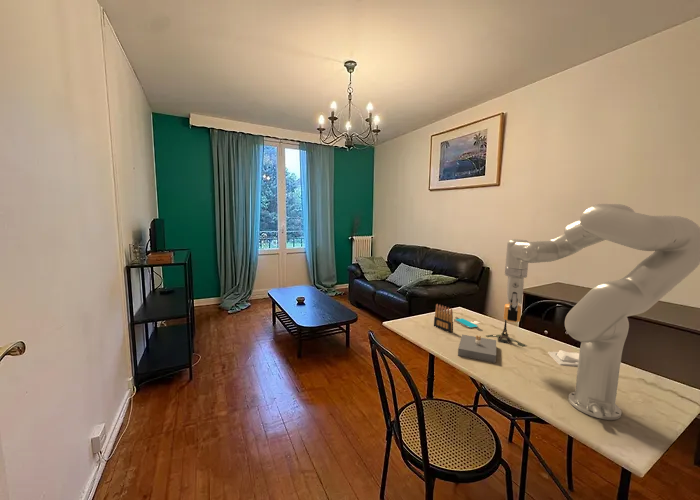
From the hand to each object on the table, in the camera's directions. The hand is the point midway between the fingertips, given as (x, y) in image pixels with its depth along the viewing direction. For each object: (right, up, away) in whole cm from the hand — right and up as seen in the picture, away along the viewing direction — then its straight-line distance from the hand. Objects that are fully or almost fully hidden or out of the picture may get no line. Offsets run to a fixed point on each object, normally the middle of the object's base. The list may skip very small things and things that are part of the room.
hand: (511, 317), depth 120 cm
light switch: (+25, -19, +4) cm, 32 cm away
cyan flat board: (0, -13, +43) cm, 45 cm away
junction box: (-9, -17, +11) cm, 22 cm away
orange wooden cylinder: (0, -1, 0) cm, 1 cm away
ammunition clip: (-16, -14, +35) cm, 41 cm away
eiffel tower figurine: (+8, -16, +21) cm, 28 cm away
